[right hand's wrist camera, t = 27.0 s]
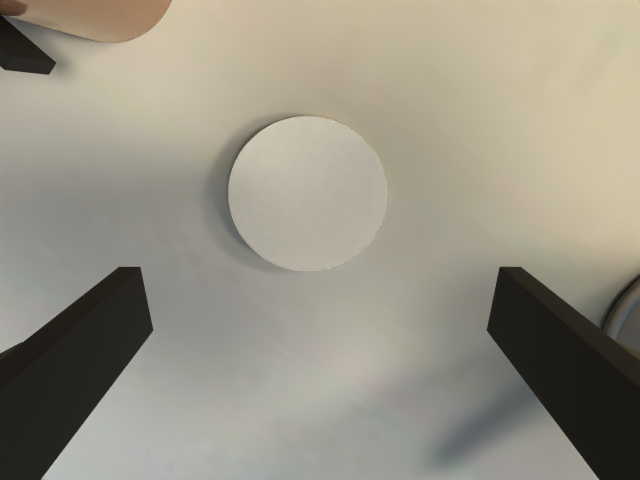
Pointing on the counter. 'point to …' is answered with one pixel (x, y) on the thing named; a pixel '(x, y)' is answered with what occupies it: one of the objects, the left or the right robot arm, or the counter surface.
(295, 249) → the lid
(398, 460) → the counter surface
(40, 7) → the jar
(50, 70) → the left robot arm
